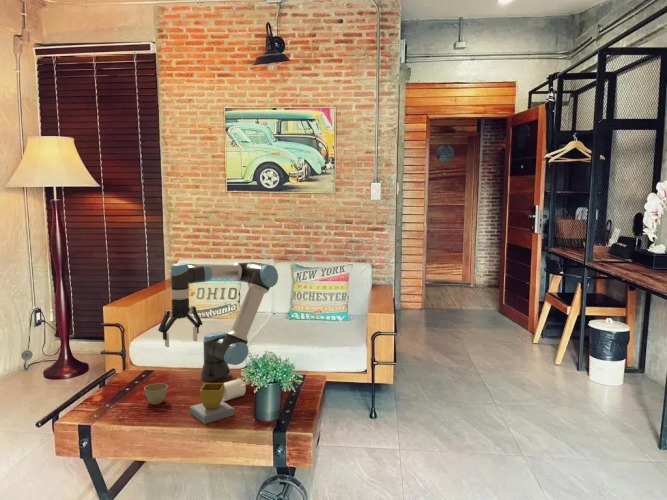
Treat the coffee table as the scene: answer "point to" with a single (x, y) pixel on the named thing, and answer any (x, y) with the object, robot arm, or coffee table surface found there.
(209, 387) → the flower pot
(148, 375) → the coffee table surface
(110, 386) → the coffee table surface
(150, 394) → the round planter pot
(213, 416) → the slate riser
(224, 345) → the robot arm
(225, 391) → the mug
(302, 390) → the coffee table surface
